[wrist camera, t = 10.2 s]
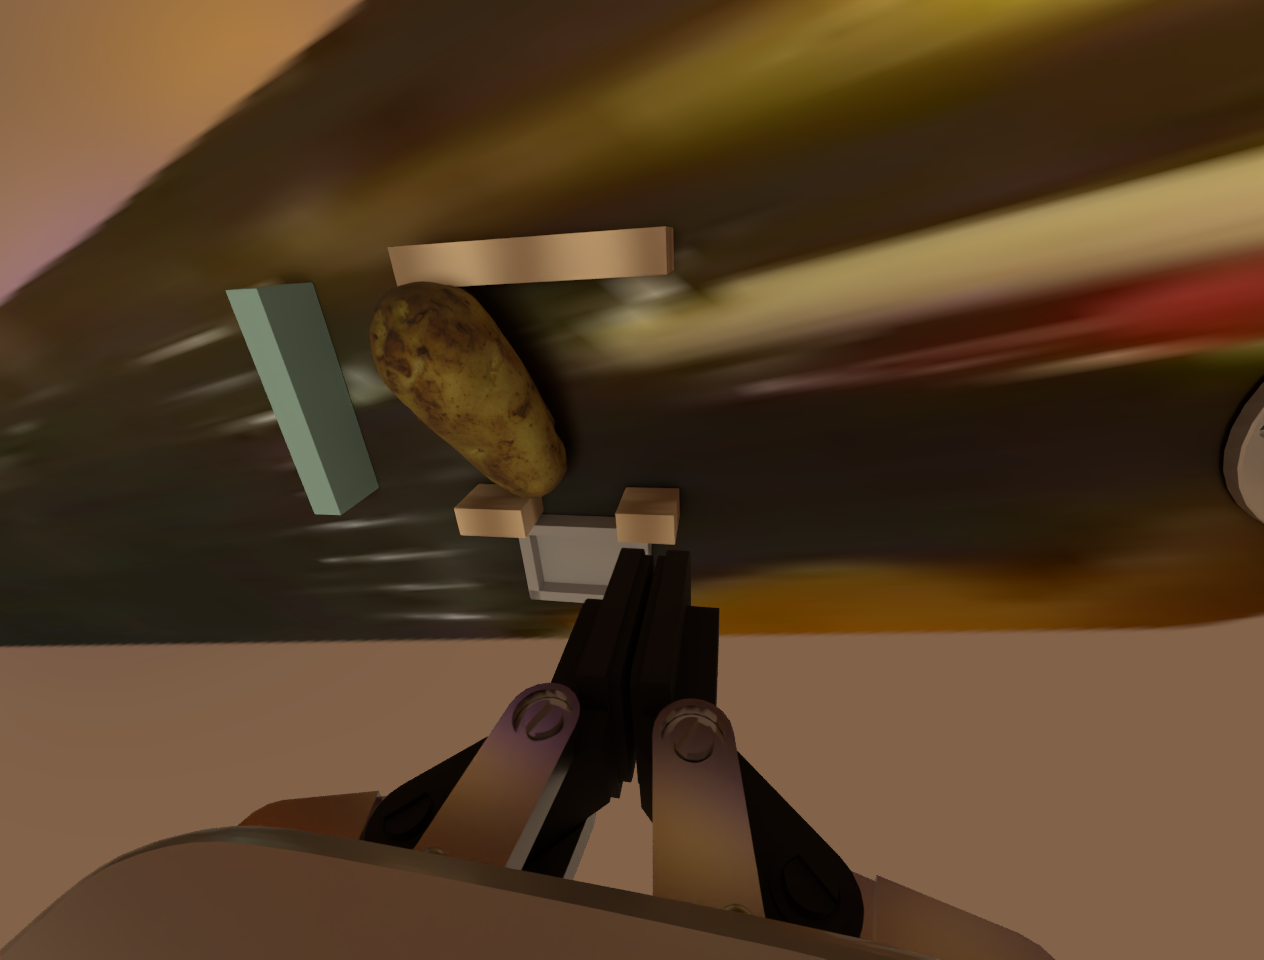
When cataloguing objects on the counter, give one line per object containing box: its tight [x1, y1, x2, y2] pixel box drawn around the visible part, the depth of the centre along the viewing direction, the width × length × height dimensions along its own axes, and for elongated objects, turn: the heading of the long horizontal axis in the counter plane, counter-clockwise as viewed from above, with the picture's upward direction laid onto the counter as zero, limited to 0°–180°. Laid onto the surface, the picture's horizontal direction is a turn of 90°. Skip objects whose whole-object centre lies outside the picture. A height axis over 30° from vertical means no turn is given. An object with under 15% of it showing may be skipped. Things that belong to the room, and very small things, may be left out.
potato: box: [369, 281, 568, 499], centre depth 27 cm, size 8×13×8 cm, turn 5°
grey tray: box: [519, 514, 652, 603], centre depth 34 cm, size 9×6×2 cm
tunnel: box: [388, 226, 680, 544], centre depth 28 cm, size 14×17×4 cm
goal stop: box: [225, 282, 379, 515], centre depth 31 cm, size 2×14×4 cm, turn 3°
